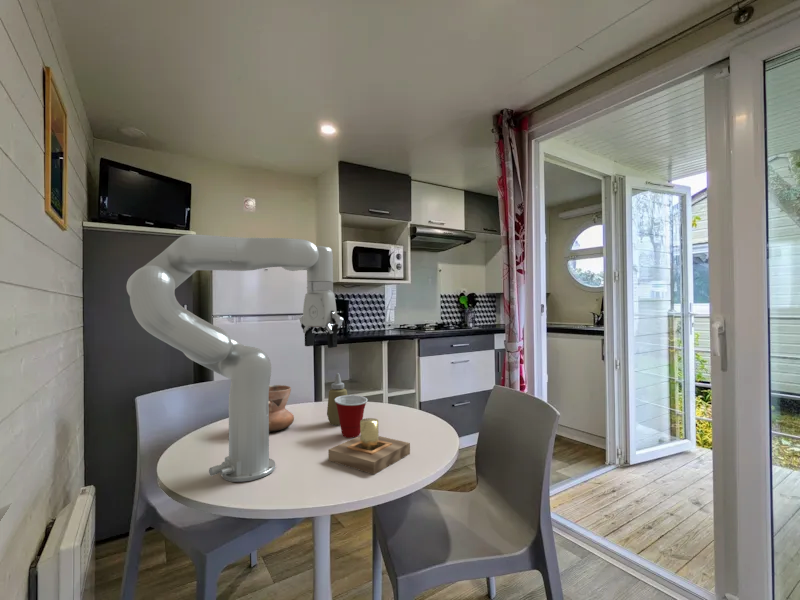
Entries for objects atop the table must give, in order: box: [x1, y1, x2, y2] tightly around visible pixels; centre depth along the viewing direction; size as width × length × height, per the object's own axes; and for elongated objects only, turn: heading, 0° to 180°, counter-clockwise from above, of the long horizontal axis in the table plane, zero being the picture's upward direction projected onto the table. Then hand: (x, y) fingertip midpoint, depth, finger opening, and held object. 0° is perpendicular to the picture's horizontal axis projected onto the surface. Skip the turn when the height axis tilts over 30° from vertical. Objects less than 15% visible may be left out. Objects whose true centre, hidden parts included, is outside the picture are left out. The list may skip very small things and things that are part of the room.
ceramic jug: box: [269, 384, 295, 433], centre depth 131 cm, size 18×14×14 cm
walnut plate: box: [327, 435, 411, 475], centre depth 103 cm, size 16×16×3 cm
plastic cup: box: [334, 394, 369, 439], centre depth 122 cm, size 11×11×12 cm
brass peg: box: [360, 417, 380, 451], centre depth 103 cm, size 5×5×10 cm
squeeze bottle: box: [326, 372, 348, 426], centre depth 135 cm, size 8×8×18 cm
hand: (320, 346), depth 109 cm, fingers open, 9 cm apart
